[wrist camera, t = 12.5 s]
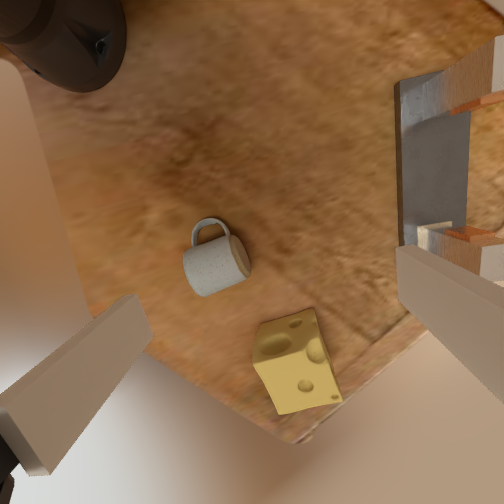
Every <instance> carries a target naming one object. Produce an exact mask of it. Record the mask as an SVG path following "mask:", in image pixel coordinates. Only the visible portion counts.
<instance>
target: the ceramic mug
mask: <svg viewBox="0 0 504 504" xmlns="http://www.w3.org/2000/svg"><path fill="white" fill-rule="evenodd" d="M216 223H219V224H220V225H221V226H222V227H223V229H224V231H225V233H226V235H225V236H223V237H220V238H217V239H215V240H212V241H210V242H207V243H204V244H201V245H198V246H197V235H198V232H199V230H200V229H201V228H202V227H203V226H207V225H210V224H213V225H214V224H216ZM191 242H192V248H190V249H187V250H186V251H185V252H184V255H183V267H184V271H185V274H186V277H187V279H188V282H189V284H190V285H191V287H192V288H193V290H194V291H195V292H196V293H197V294H198V295H200V296H202V297H206V296H209V295H211V294H213V293H216V292H218V291H220V290H223V289H225V288H228V287H230V286H232V285H235V284H237V283H240V282H242V281H244V280H245V279H247V278H248V277H249V276H250V274H251V266H250V262H249V259H248V256H247V253H246V251H245V249H244V247H243V245H242V243H241V241H240V240H239V239H238V237H236V236H234V235H230V232H229V230H228V228H227V227H226V225H225V224H224V223H223V222H221V221H220V220H218V219H215V218H207V219H204V220H201V221H200V222H198V223H197V224H196V225H195V227H194V229H193V232H192V237H191Z"/></svg>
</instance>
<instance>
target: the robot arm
mask: <svg viewBox="0 0 504 504" xmlns="http://www.w3.org/2000/svg"><path fill="white" fill-rule="evenodd" d="M0 43H1V44H2V45H3V46H5V47H6V48H7V49H8V50H9V51H10V52H12V53H13V54H14V55H15V56H17V57H18V58H19V59H21V60H22V61H23V62H24V63H25V64H26V65H27V66H28V67H29V68H30V69H31V70H32V71H33V72H35V73H36V74H37V75H39V76H40V77H42V78H43V79H45V80H47V81H48V82H50V83H53V84H55V85H57V86H59V87H62V88H64V89H66V90H70V91H74V92H89V91H93V90H96V89H98V88H100V87H102V86H103V85H105V84H106V83H107V82H108V81H109V80H110V79H111V78H112V77H113V76H114V74H115V73H116V71H117V70H118V68H119V66H120V64H121V61H122V58H123V55H124V50H125V43H126V26H125V19H124V14H123V10H122V7H121V3H120V1H119V0H0ZM395 249H396V267H397V285H398V300H399V301H400V302H401V303H402V304H403V305H404V306H405V307H406V308H407V309H408V310H409V311H410V312H411V313H412V314H413V315H414V316H415V317H416V318H417V319H418V320H419V321H420V322H421V323H422V324H423V325H424V326H425V327H426V328H427V329H428V330H429V331H430V332H431V333H432V334H433V335H434V336H435V337H436V338H437V339H438V340H439V341H440V342H441V343H442V344H443V345H444V346H445V347H446V348H447V349H448V350H449V351H450V352H451V353H452V354H453V355H454V356H455V357H456V358H457V359H458V360H459V361H461V363H462V364H463V365H464V366H465V367H466V368H467V369H468V370H470V371H471V372H472V373H473V374H474V375H475V376H476V377H477V378H478V379H479V380H480V381H481V382H482V383H483V384H484V385H485V386H486V387H487V388H488V389H489V390H490V391H491V392H492V393H493V394H494V395H495V396H496V397H497V398H498V399H499V400H500V401H501V402H502V403H503V404H504V288H503V287H501V286H499V285H497V284H495V283H493V282H491V281H489V280H487V279H485V278H482V277H480V276H478V275H476V274H474V273H472V272H470V271H468V270H466V269H464V268H462V267H460V266H458V265H455V264H453V263H451V262H449V261H447V260H445V259H443V258H441V257H439V256H437V255H435V254H433V253H431V252H428V251H426V250H424V249H422V248H420V247H418V246H416V245H414V244H412V245H406V246H400V247H395ZM153 337H154V335H153V332H152V330H151V327H150V325H149V322H148V320H147V317H146V315H145V312H144V310H143V307H142V305H141V302H140V300H139V297H138V295H137V293H135V294H130V295H124V296H123V297H122V298H120V299H119V300H118V301H117V302H115V303H114V304H113V305H112V306H110V307H109V308H108V309H107V310H105V311H104V312H103V313H102V314H100V315H99V316H98V317H97V318H95V319H94V320H93V321H92V322H90V323H89V324H88V325H87V326H85V327H84V328H83V329H82V330H80V331H79V332H78V333H76V334H75V335H74V336H73V337H71V338H70V339H69V340H68V341H66V342H65V343H64V344H63V345H61V346H60V347H59V348H58V349H56V350H55V351H54V352H53V353H51V354H50V355H49V356H48V357H46V358H45V359H44V360H43V361H41V362H40V363H39V364H38V365H37V366H35V367H34V368H33V369H31V370H30V371H29V372H28V373H26V374H25V375H24V376H23V377H21V378H20V379H19V380H18V381H17V382H15V383H14V384H13V385H11V386H10V387H9V388H8V389H6V390H5V391H4V392H3V393H1V394H0V504H9V502H10V499H11V495H12V491H13V488H14V478H13V477H12V476H11V474H10V473H11V472H12V470H13V469H14V468H15V467H16V466H17V465H18V464H19V463H20V464H21V466H22V467H23V468H24V470H25V471H26V473H27V474H28V475H29V476H43V475H51V473H52V472H53V471H54V469H55V468H56V467H57V465H58V464H59V463H60V461H61V460H62V459H63V457H64V456H65V455H66V453H67V452H68V450H69V449H70V448H71V447H72V445H73V444H74V443H75V441H76V440H77V439H78V437H79V436H80V435H81V433H82V432H83V431H84V429H85V428H86V427H87V425H88V424H89V423H90V421H91V420H92V418H93V417H94V416H95V414H96V413H97V411H98V410H99V409H100V408H101V406H102V405H103V404H104V402H105V401H106V400H107V398H108V397H109V396H110V394H111V393H112V392H113V390H114V389H115V388H116V386H117V385H118V383H119V382H120V381H121V380H122V378H123V377H124V376H125V374H126V373H127V372H128V370H129V369H130V368H131V366H132V365H133V363H134V362H135V361H136V359H137V358H138V357H139V356H140V354H141V353H142V351H143V350H144V349H145V347H146V346H147V345H148V343H149V342H150V341H151V339H152V338H153Z"/></svg>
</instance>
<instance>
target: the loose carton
mask: <svg viewBox="0 0 504 504" xmlns="http://www.w3.org/2000/svg"><path fill="white" fill-rule="evenodd" d="M423 249H424V250H426V251H428V252H431V253H433V254H435V255H437V256H439V257H441V258H443V259H445V260H447V261H449V262H451V263H453V264H455V265H458V266H460V267H462V268H464V269H466V270H468V271H470V272H472V273H474V274H476V275H478V276H480V277H482V278H485V279H487V280H489V281H491V282H494V281H502V280H504V239H501V238H497V237H495V233H494V232H490V231H486V230H481V229H477V228H473V227H469V226H463V227H454V226H450V225H441V226H434V227H427V228H423Z"/></svg>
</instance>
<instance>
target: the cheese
mask: <svg viewBox="0 0 504 504" xmlns="http://www.w3.org/2000/svg"><path fill="white" fill-rule="evenodd" d="M253 366H254V368H255V369H256V371H257V373H258V374H259V376H260V377H261V379H262V381H263V382H264V384H265V386H266V388H267V390H268V392H269V394H270V396H271V399H272V401H273V403H274V405H275V407H276V409H277V412H278V414H279V415H282V414H288V413H292V412H296V411H300V410H303V409H307V408H311V407H316V406H320V405H326V404H331V403H337V402H342V401H343V398H342V394H341V391H340V387H339V384H338V381H337V379H336V376H335V372H334V368H333V365H332V362H331V359H330V356H329V353H328V351H327V348H326V346H325V343H324V341H323V338H322V336H321V334H320V330H319V327H318V323H317V318H316V314H315V311H314V309H313V308H309V309H306V310H304V311H301V312H299V313H296V314H293V315H290V316H286V317H283V318H279V319H276V320H272V321H269V322H265V323H262V324H260V327H259V329H258V332H257V335H256V338H255V341H254V346H253Z"/></svg>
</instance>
